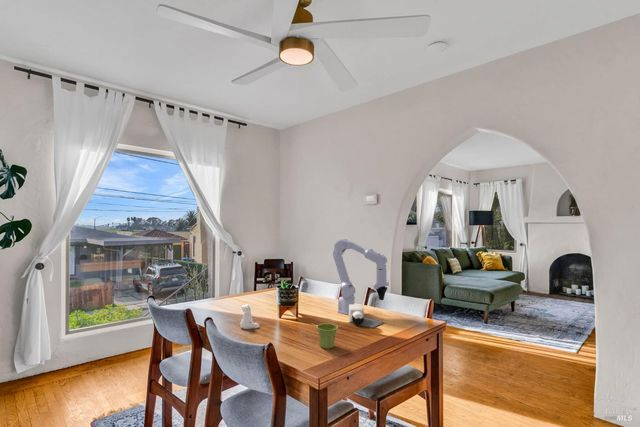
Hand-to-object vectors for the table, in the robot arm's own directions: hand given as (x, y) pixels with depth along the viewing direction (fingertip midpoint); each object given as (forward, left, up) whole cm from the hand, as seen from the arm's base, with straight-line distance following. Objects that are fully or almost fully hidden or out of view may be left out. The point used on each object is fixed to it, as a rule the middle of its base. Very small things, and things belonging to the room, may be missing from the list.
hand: (381, 299), depth 201 cm
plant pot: (+4, -58, -10) cm, 59 cm away
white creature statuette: (-44, -62, -10) cm, 76 cm away
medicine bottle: (-8, -16, -4) cm, 18 cm away
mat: (0, -17, -9) cm, 19 cm away
